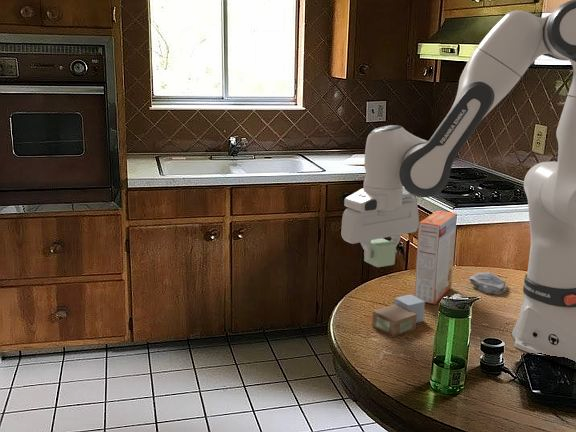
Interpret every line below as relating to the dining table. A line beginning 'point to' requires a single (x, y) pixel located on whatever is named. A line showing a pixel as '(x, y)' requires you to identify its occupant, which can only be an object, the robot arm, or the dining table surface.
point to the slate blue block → (412, 305)
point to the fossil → (488, 283)
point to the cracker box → (435, 256)
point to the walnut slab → (394, 320)
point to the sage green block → (382, 253)
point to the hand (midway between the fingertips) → (379, 255)
